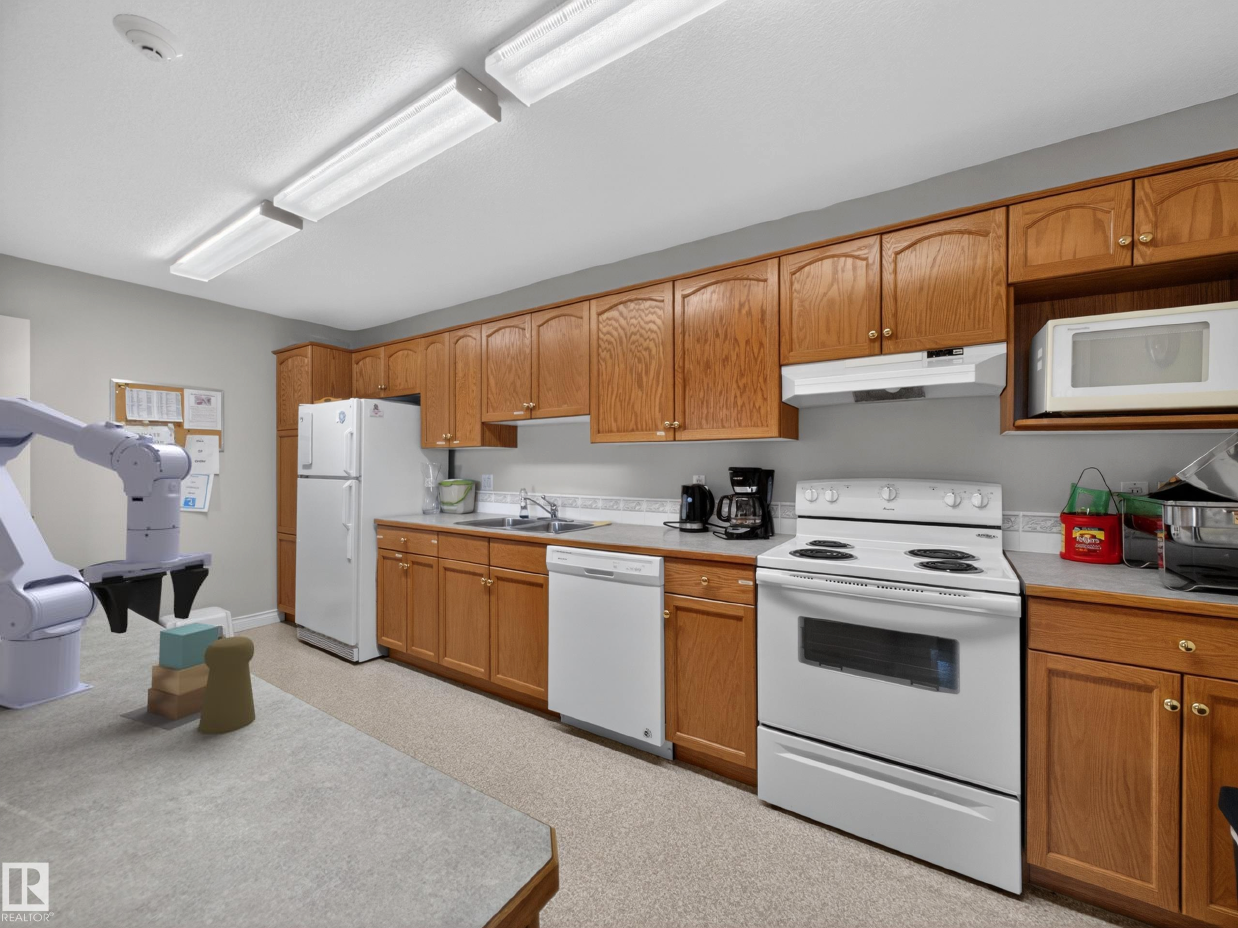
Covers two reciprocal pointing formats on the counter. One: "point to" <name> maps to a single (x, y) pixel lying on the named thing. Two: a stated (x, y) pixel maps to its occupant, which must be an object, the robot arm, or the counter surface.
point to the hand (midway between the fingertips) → (151, 624)
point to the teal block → (186, 645)
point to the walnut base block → (175, 703)
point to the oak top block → (179, 678)
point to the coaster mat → (159, 718)
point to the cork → (228, 686)
